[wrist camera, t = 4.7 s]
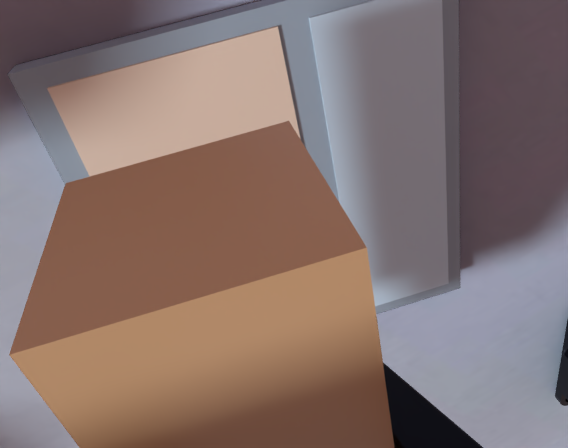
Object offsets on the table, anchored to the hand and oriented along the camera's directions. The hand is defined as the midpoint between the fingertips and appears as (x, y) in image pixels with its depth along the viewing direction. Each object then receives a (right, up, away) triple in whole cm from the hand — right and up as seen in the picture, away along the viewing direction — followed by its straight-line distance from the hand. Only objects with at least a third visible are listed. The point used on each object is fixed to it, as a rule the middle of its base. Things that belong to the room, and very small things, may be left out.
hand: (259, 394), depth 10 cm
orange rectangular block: (0, +1, +1) cm, 1 cm away
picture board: (0, +4, +6) cm, 7 cm away
